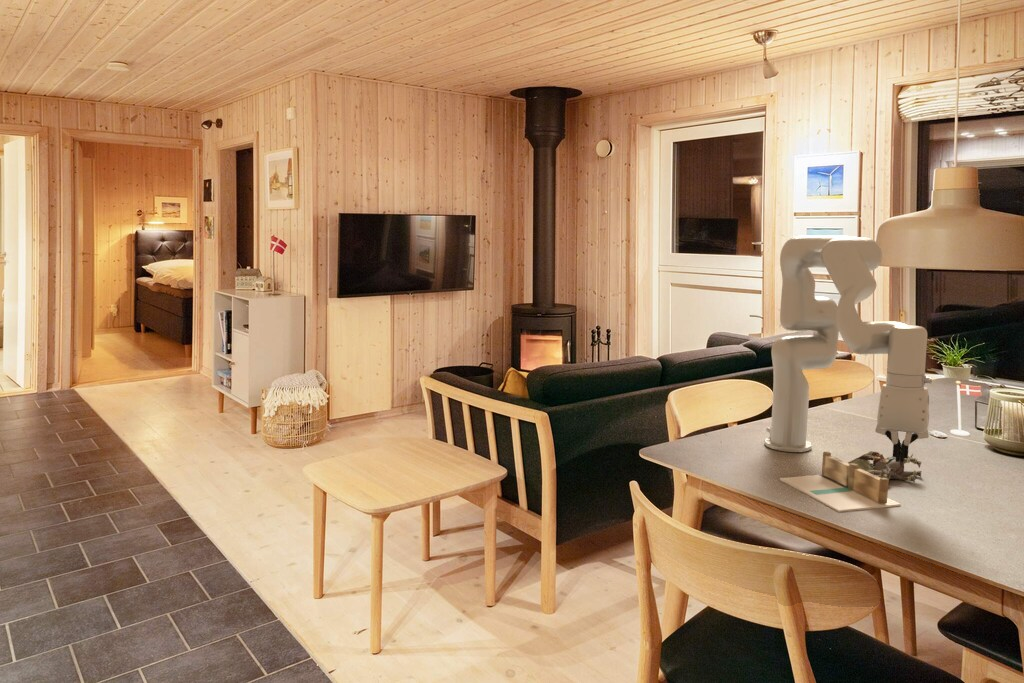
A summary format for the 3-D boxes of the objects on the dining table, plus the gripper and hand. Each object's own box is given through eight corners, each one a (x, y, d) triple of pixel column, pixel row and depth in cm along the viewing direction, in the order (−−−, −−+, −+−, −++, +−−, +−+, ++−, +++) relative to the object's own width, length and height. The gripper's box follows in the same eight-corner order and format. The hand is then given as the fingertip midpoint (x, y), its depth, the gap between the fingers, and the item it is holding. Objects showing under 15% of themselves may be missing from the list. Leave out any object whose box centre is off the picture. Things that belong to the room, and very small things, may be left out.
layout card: (779, 479, 186) (780, 478, 186) (836, 474, 190) (836, 473, 190) (838, 512, 165) (838, 510, 165) (900, 505, 169) (900, 503, 169)
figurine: (908, 472, 177) (833, 459, 187) (907, 496, 178) (833, 482, 189) (928, 448, 192) (858, 437, 202) (927, 471, 193) (857, 458, 203)
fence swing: (852, 489, 177) (854, 467, 176) (859, 489, 177) (860, 466, 177) (881, 504, 168) (883, 480, 167) (888, 503, 168) (890, 480, 167)
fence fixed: (819, 475, 189) (821, 452, 188) (826, 474, 189) (828, 451, 188) (851, 490, 177) (853, 466, 176) (858, 490, 178) (860, 465, 177)
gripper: (944, 381, 168) (938, 461, 170) (870, 375, 175) (865, 452, 178) (943, 386, 161) (937, 470, 164) (866, 380, 169) (861, 460, 171)
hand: (900, 460), depth 171 cm, fingers closed
